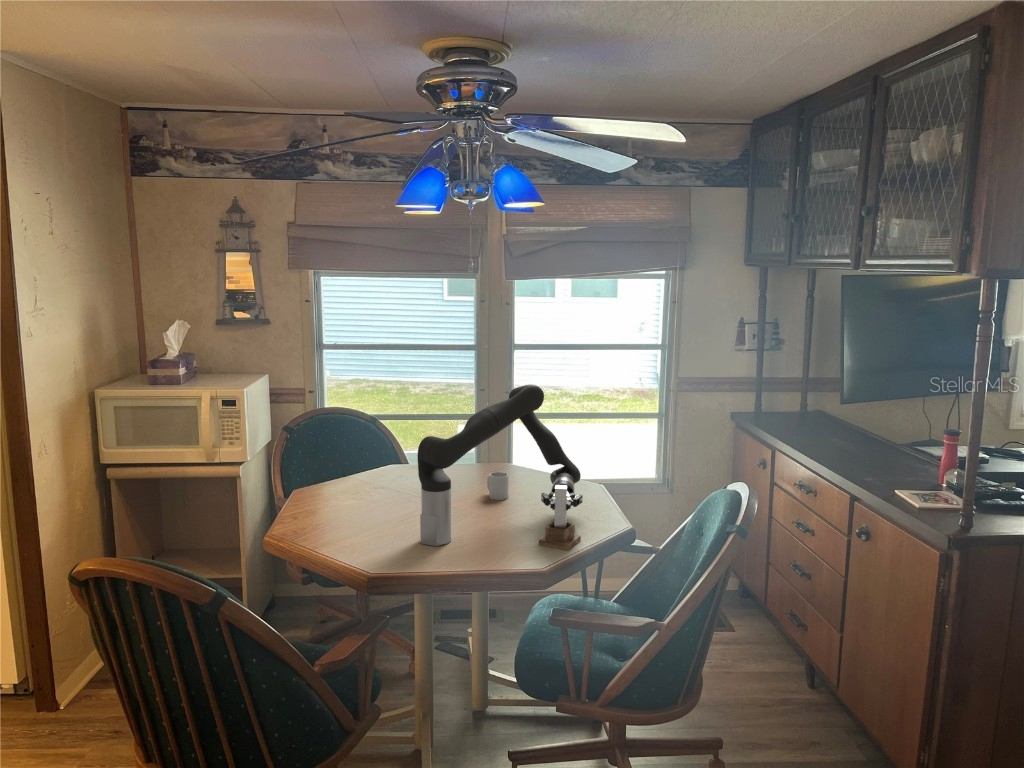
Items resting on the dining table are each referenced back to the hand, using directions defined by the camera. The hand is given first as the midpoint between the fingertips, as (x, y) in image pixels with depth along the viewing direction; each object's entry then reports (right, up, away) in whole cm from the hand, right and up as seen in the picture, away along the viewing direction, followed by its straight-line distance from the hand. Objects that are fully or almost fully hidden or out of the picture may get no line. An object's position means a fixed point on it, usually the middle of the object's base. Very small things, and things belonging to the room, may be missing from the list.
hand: (560, 507), depth 231 cm
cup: (-21, -5, +51) cm, 56 cm away
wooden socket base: (0, -12, +5) cm, 13 cm away
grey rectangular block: (0, -8, +4) cm, 9 cm away
